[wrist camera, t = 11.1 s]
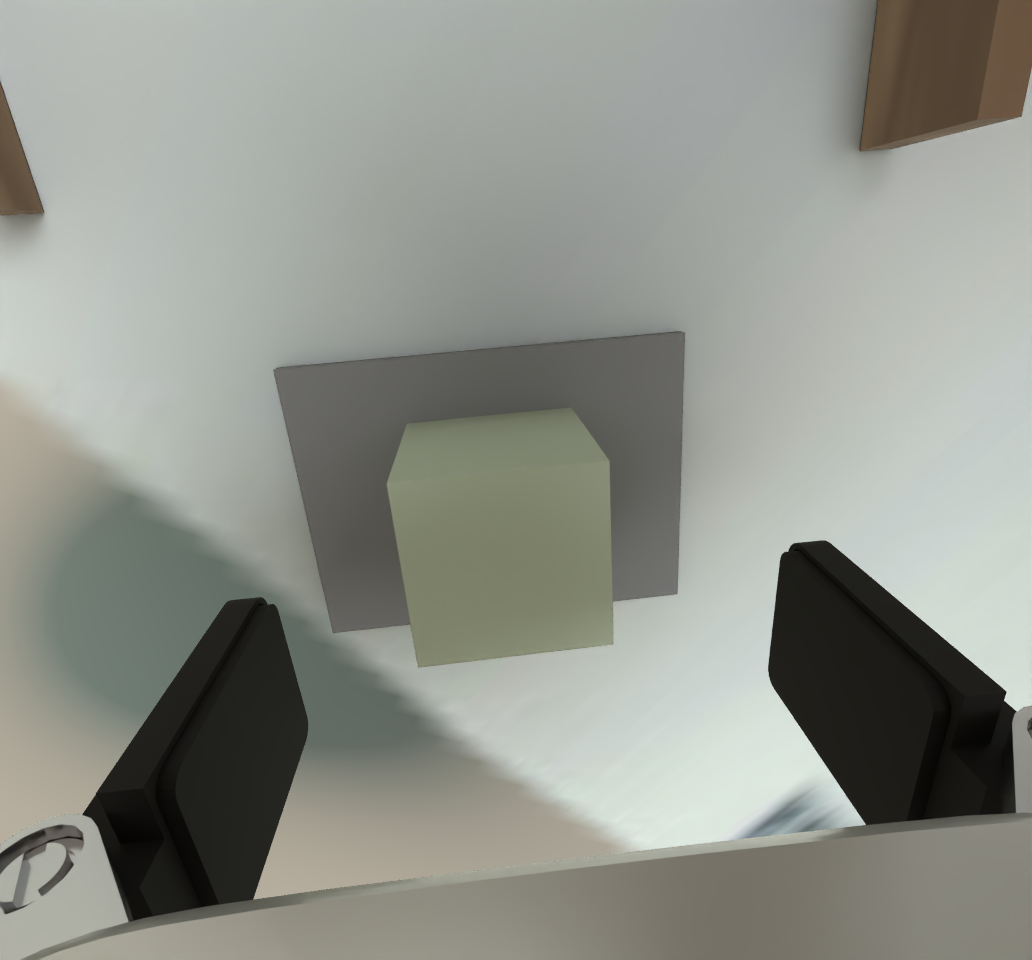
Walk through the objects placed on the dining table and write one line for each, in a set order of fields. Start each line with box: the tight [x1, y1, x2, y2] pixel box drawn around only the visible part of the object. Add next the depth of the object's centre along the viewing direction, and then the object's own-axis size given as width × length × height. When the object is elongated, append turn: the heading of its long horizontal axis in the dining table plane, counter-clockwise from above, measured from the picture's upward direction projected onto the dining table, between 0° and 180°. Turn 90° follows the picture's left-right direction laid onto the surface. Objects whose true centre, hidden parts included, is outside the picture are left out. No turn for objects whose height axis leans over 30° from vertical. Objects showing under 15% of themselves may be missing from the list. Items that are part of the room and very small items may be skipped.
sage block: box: [387, 407, 613, 667], centre depth 16 cm, size 5×5×5 cm
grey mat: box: [273, 332, 685, 633], centre depth 19 cm, size 12×9×1 cm
